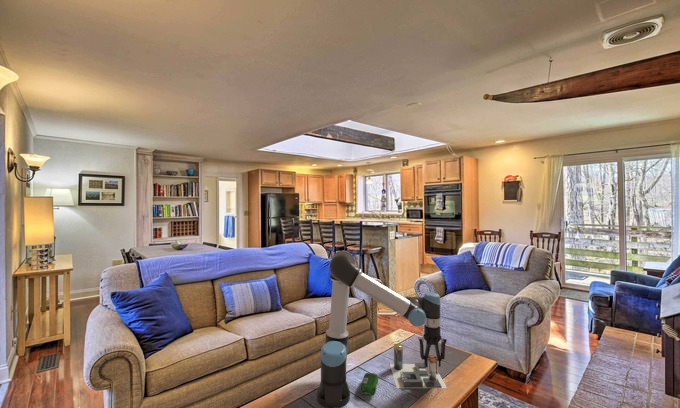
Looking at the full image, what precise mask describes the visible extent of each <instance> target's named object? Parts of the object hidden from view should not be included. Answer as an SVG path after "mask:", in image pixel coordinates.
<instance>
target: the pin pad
mask: <svg viewBox="0 0 680 408" xmlns="http://www.w3.org/2000/svg"><path fill="white" fill-rule="evenodd" d="M423 380H424V382H425V384H426V387H427V388H426V389H443V388H442V386H441V384H440V383H439V381H438V379H437V380H436V381H435V382H433V381H430V380H429V378H423Z"/></svg>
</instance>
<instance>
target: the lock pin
mask: <svg viewBox="0 0 680 408" xmlns="http://www.w3.org/2000/svg"><path fill="white" fill-rule="evenodd" d="M436 358H437V355H434V354H429V356H428V360H429V374H428V378H429V380H430V381H433V382H435V381H436V380H437V361H436Z"/></svg>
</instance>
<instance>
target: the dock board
mask: <svg viewBox="0 0 680 408" xmlns="http://www.w3.org/2000/svg"><path fill="white" fill-rule="evenodd" d="M389 366H390V370H391V374H392V376H393V380H394V383H395V387H396V389H407V388H406V387H404V386H403V383H402V380H401V377H400V372H417V371H416V369H415V363H403V369H402V370H396V369H394V363H389ZM419 370H426V368H419ZM420 377H421V379H422V381H423V388H422V389H428V388H427V387H426V384H425V382H424V380H423V378H428V375H420ZM437 379H438V381H439V383H440V384H441V386H442V388H441V389H448V387H447V385H446V384H445V382H444V380H443V378H442V376H441V375H440V373H439V374H437ZM407 380H415V379H407Z"/></svg>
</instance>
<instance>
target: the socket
mask: <svg viewBox="0 0 680 408" xmlns="http://www.w3.org/2000/svg"><path fill="white" fill-rule="evenodd" d="M414 364H415V369H416V371H417V372H418V373H419V375H428V374H427V372H426V370H419V368H426V367H425V365H424V362H414Z"/></svg>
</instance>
